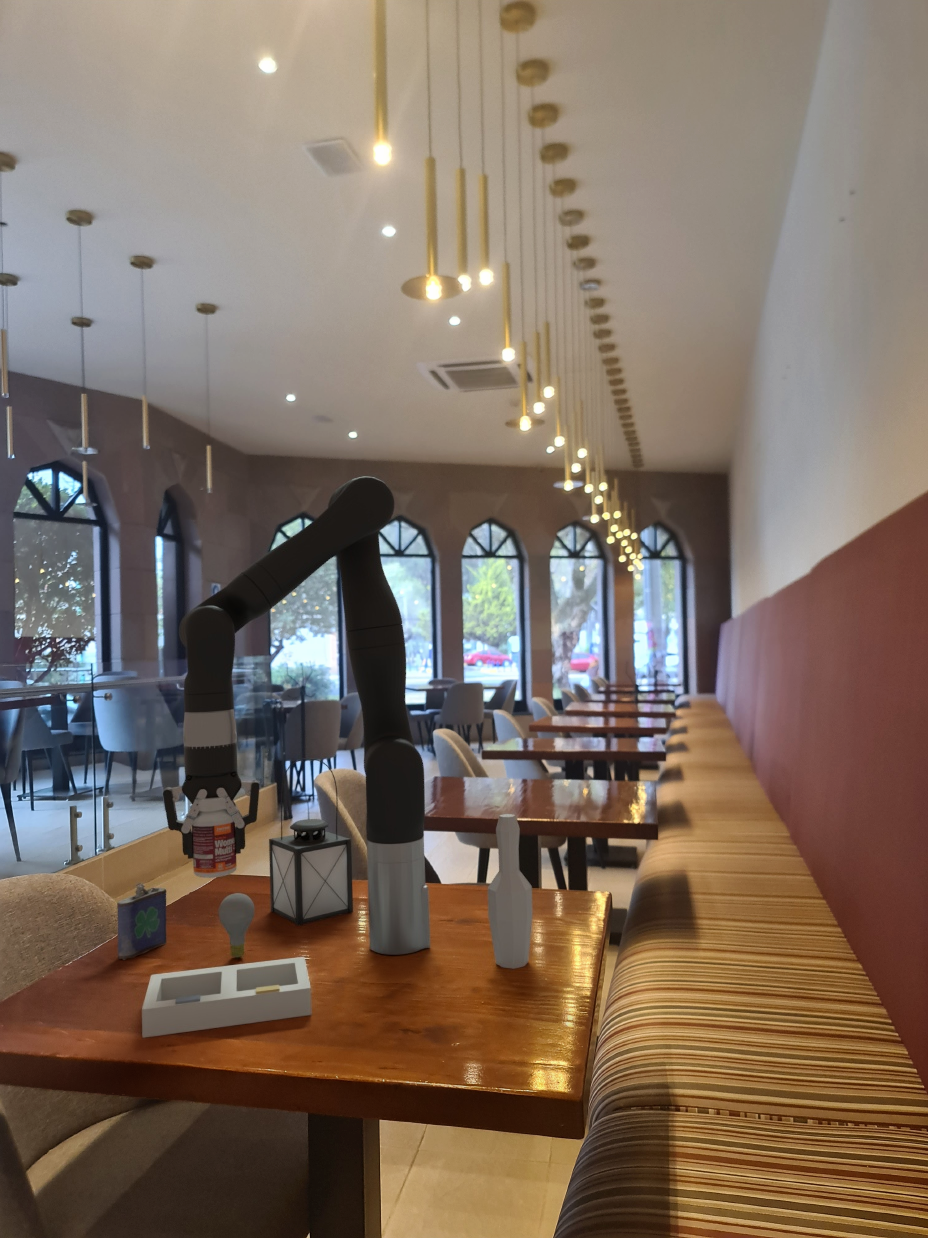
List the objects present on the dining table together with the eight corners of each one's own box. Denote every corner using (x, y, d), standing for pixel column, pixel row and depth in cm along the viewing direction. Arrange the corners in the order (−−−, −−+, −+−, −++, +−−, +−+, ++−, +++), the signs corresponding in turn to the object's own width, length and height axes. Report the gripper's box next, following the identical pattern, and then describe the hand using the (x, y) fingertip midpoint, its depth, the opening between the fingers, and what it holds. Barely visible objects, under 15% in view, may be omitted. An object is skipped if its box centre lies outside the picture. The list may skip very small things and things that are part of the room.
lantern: (353, 912, 158) (350, 757, 159) (297, 926, 151) (294, 764, 152) (324, 899, 167) (320, 752, 168) (269, 912, 160) (266, 758, 161)
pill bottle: (221, 879, 125) (218, 800, 125) (184, 878, 127) (182, 799, 127) (244, 868, 131) (242, 792, 131) (209, 866, 132) (206, 792, 133)
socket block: (305, 981, 126) (304, 954, 127) (311, 1015, 115) (310, 985, 115) (151, 1000, 121) (151, 972, 121) (142, 1038, 110) (141, 1007, 110)
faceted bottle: (541, 961, 131) (536, 814, 132) (514, 974, 127) (509, 821, 127) (509, 952, 136) (504, 810, 136) (482, 964, 131) (477, 816, 132)
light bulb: (246, 965, 134) (244, 899, 134) (213, 963, 135) (211, 898, 135) (261, 952, 139) (259, 889, 139) (229, 951, 140) (228, 888, 140)
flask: (125, 961, 137) (123, 892, 137) (112, 958, 138) (111, 890, 139) (170, 942, 145) (169, 877, 145) (158, 940, 146) (156, 876, 147)
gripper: (259, 735, 134) (263, 844, 134) (161, 742, 131) (165, 854, 130) (260, 740, 127) (265, 856, 127) (156, 747, 124) (160, 866, 123)
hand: (214, 854), depth 129 cm, fingers closed on pill bottle, 6 cm apart
